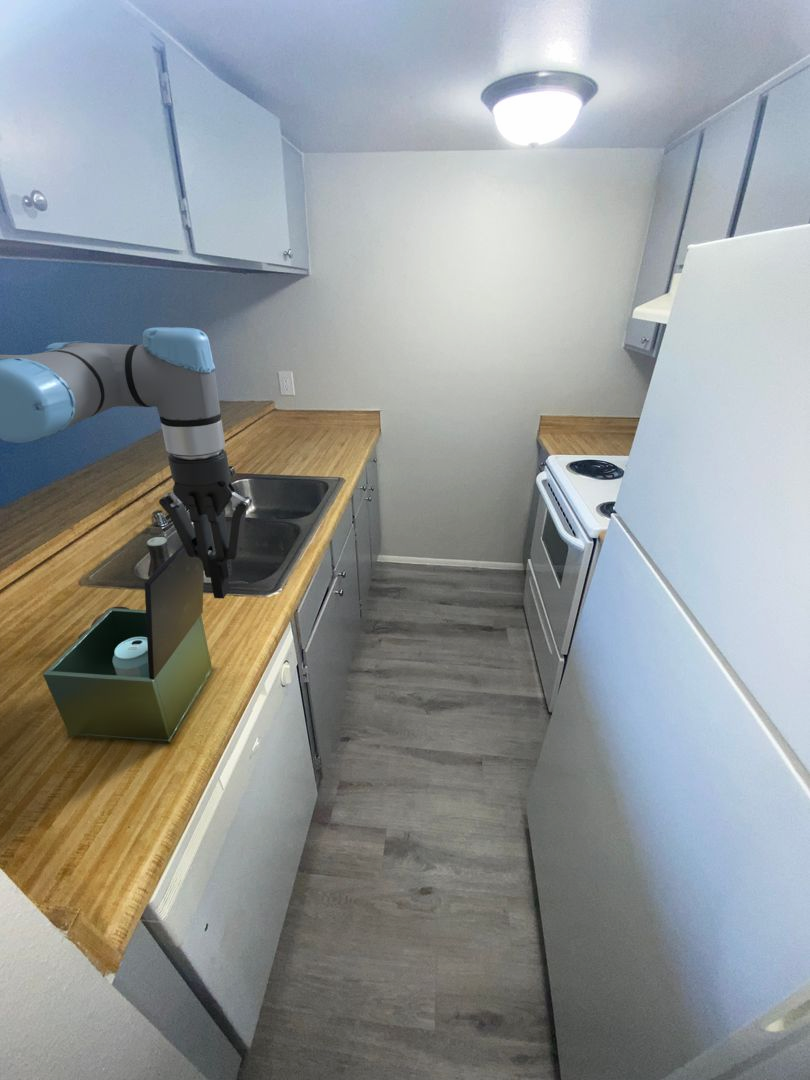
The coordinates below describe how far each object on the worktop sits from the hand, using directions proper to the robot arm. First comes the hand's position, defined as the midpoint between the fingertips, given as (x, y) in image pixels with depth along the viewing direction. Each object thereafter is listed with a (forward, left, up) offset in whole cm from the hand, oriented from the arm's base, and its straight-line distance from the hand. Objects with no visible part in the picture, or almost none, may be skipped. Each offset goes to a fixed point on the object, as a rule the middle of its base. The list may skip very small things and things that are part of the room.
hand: (222, 593), depth 76 cm
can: (-18, 0, -25) cm, 31 cm away
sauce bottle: (-26, +26, -26) cm, 45 cm away
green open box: (-18, 0, -26) cm, 31 cm away
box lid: (-8, 0, -2) cm, 8 cm away
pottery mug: (-34, +15, -26) cm, 45 cm away
